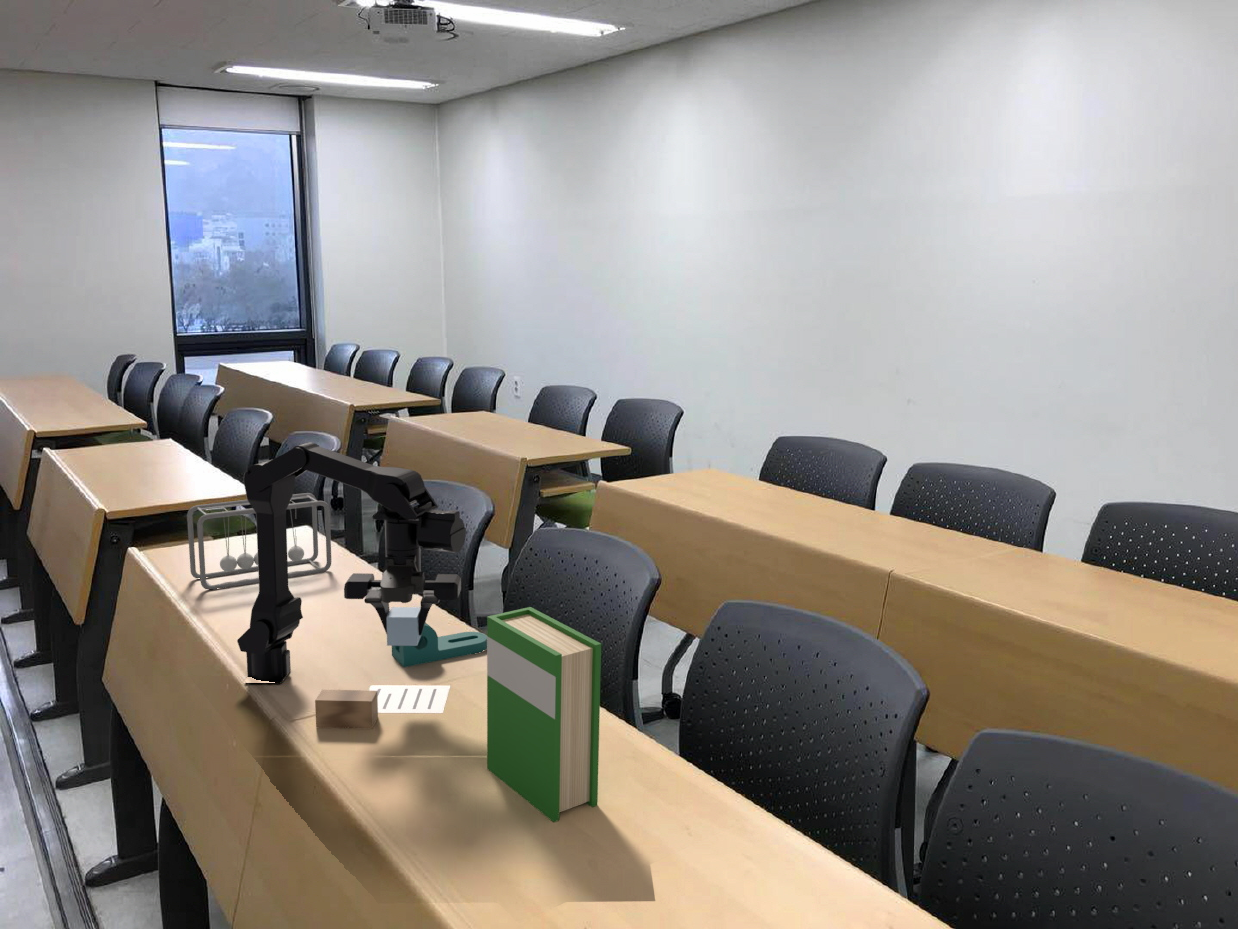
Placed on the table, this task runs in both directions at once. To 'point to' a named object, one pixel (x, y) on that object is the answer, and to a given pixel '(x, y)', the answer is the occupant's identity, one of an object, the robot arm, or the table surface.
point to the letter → (411, 698)
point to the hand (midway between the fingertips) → (404, 634)
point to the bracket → (439, 647)
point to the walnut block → (346, 709)
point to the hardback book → (543, 710)
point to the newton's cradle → (245, 559)
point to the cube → (403, 626)
